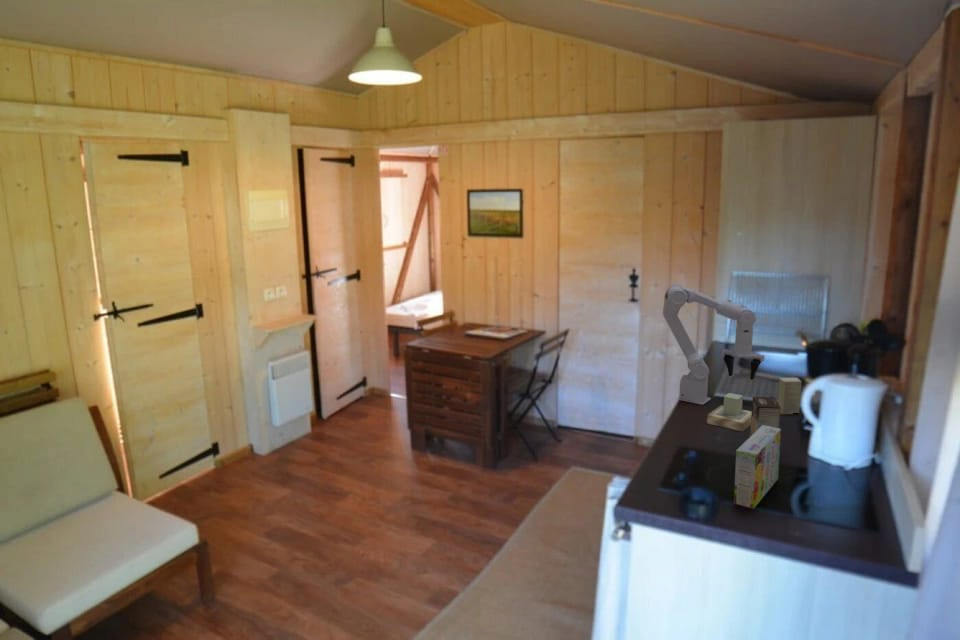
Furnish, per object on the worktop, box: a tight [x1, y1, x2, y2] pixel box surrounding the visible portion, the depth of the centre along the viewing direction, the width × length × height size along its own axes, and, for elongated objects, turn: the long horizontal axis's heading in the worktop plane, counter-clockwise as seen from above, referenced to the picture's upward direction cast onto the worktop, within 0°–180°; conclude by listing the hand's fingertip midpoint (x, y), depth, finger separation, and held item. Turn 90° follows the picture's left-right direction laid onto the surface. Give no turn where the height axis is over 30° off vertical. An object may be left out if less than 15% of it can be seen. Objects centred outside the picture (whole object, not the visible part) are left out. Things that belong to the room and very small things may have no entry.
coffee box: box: [749, 396, 781, 438], centre depth 197 cm, size 9×6×16 cm
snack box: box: [733, 425, 782, 510], centre depth 173 cm, size 21×6×15 cm, turn 141°
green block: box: [722, 392, 744, 416], centre depth 222 cm, size 5×5×6 cm
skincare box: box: [777, 376, 802, 415], centre depth 229 cm, size 6×4×12 cm
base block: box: [706, 404, 752, 432], centre depth 222 cm, size 12×12×3 cm
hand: (741, 377), depth 240 cm, fingers open, 7 cm apart
